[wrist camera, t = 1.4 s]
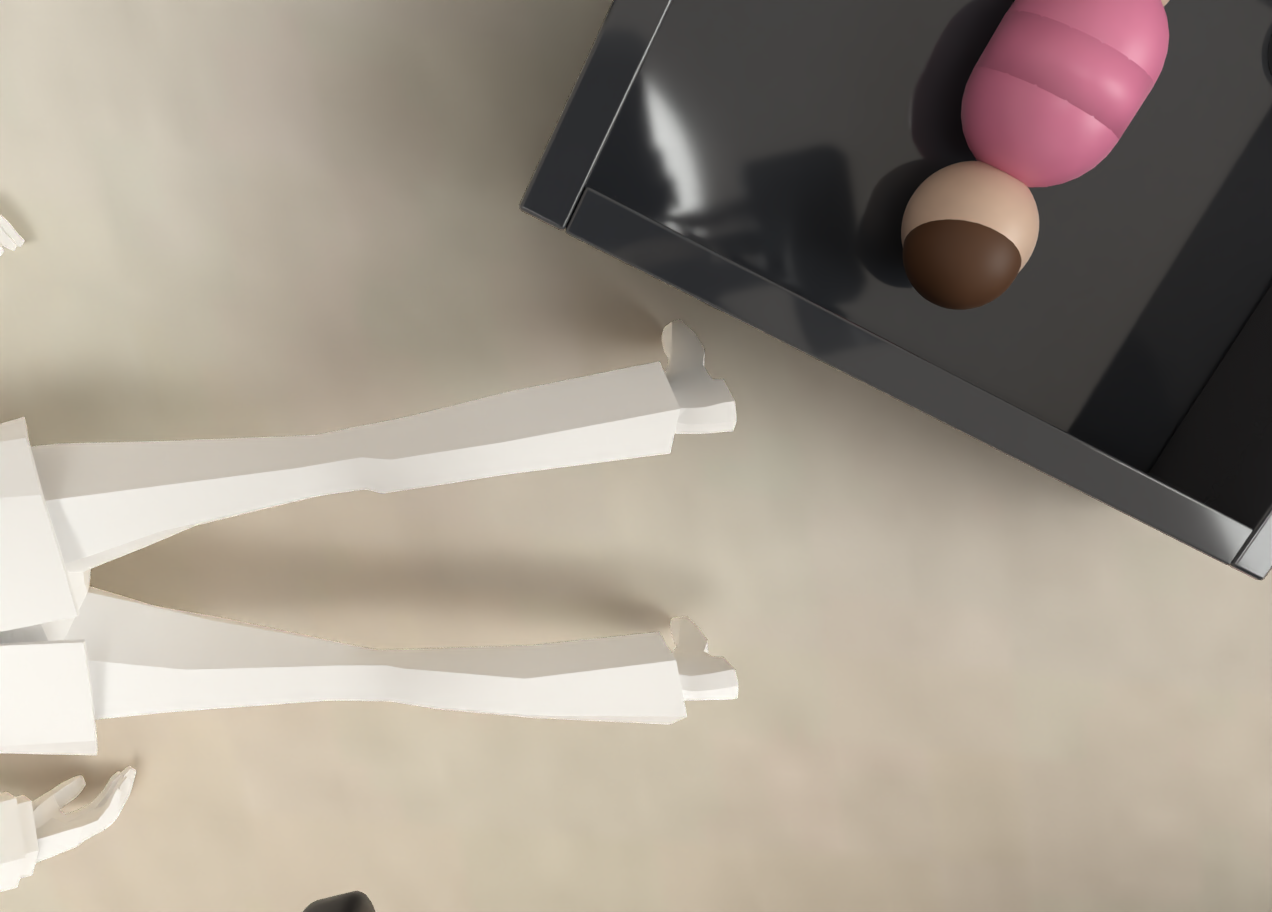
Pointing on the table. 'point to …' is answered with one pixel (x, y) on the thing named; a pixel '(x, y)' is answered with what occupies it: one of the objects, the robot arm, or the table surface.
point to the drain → (1270, 55)
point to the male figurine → (286, 661)
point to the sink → (872, 247)
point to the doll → (1029, 137)
